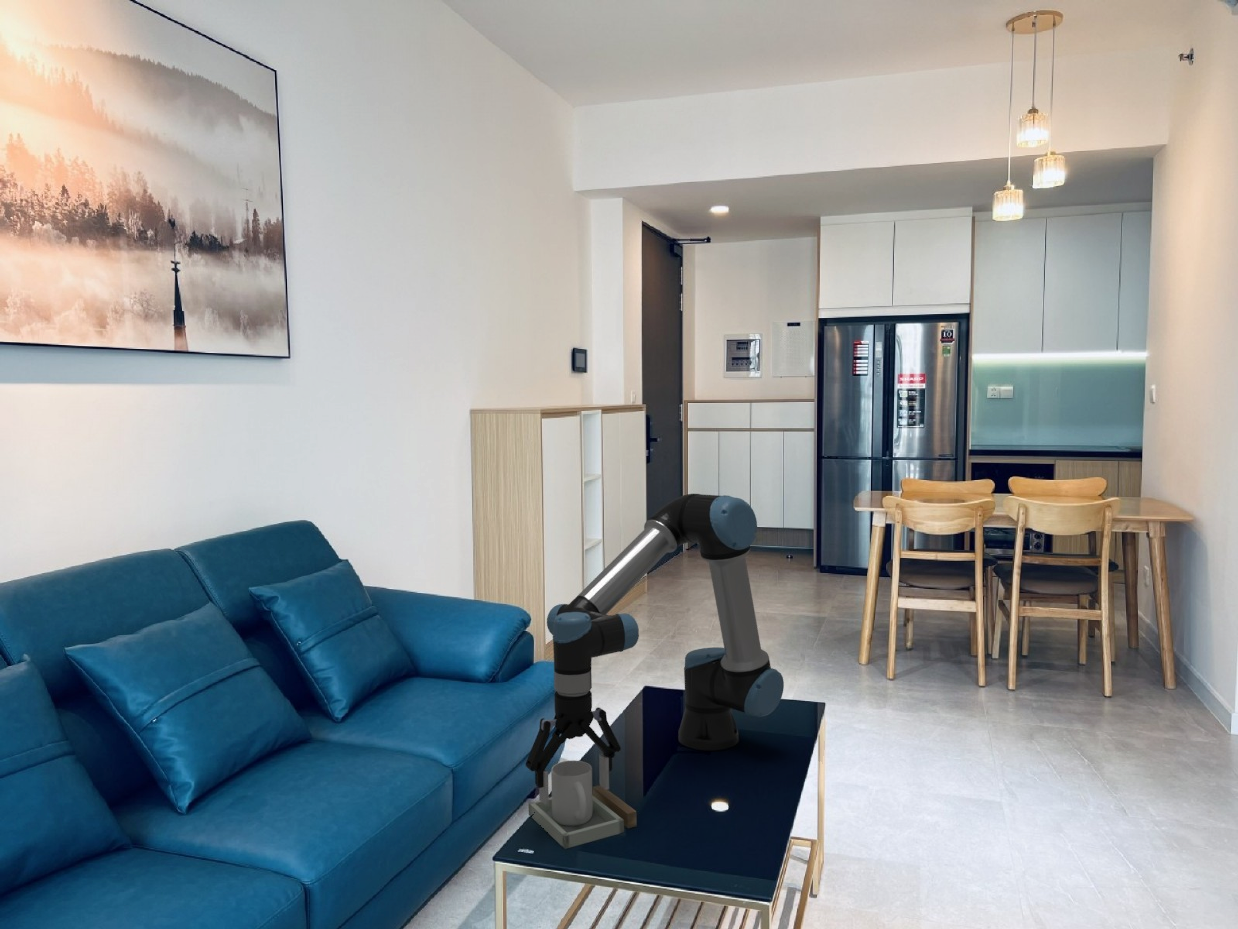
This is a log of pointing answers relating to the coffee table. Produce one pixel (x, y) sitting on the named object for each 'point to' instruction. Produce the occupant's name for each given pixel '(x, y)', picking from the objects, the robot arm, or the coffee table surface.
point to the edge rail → (616, 806)
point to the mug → (571, 792)
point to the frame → (570, 836)
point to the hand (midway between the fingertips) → (574, 794)
